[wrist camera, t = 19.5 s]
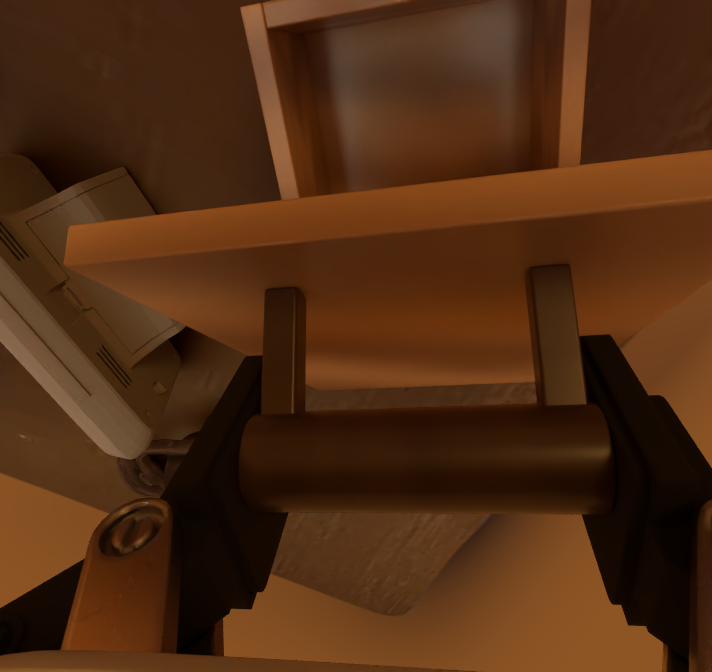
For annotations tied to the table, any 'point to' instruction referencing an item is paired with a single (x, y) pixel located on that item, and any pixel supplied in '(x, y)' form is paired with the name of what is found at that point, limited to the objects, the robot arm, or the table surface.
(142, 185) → the table surface
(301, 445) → the lid
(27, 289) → the digital clock
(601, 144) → the table surface
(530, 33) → the pencil box
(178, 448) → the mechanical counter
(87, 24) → the table surface
